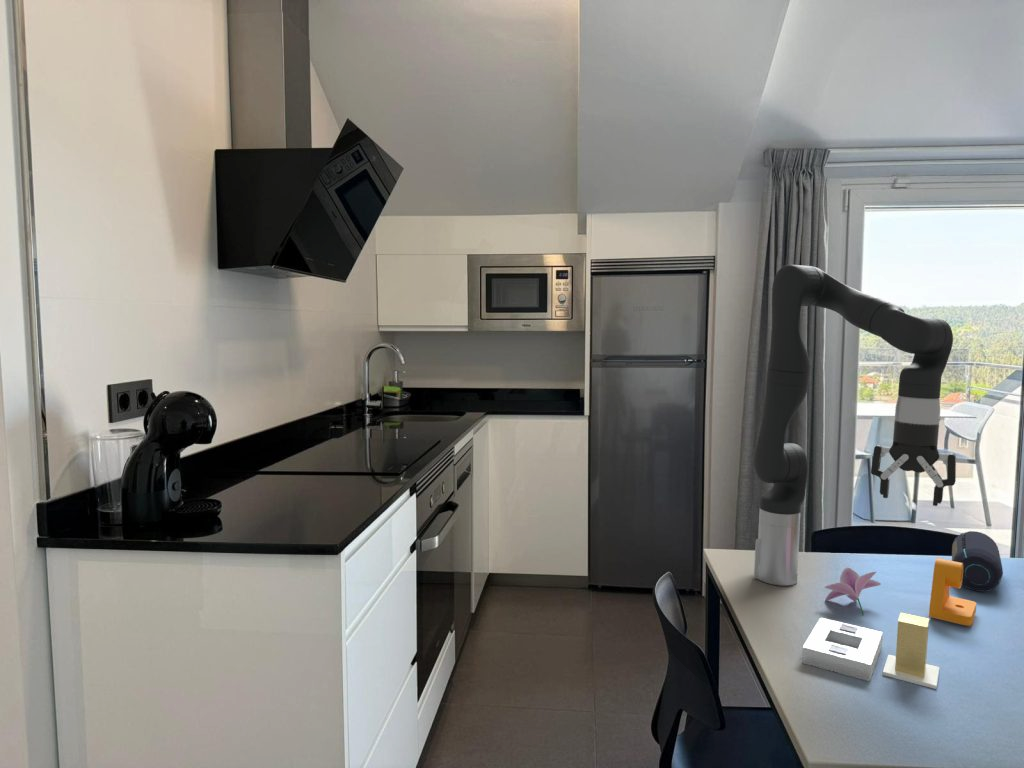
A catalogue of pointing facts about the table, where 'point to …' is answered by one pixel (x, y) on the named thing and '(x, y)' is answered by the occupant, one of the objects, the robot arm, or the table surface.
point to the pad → (928, 680)
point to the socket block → (843, 648)
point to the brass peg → (912, 644)
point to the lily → (851, 585)
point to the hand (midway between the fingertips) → (910, 501)
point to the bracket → (941, 601)
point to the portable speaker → (978, 560)
